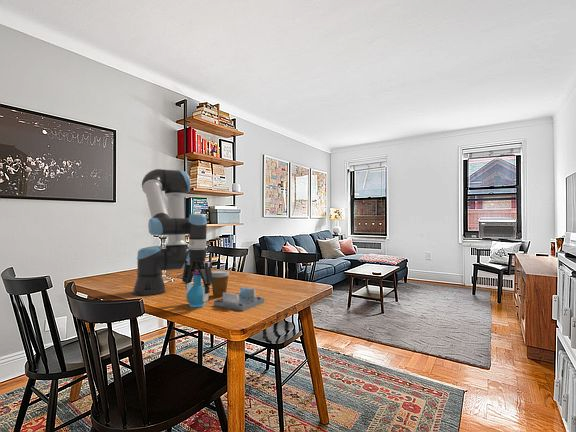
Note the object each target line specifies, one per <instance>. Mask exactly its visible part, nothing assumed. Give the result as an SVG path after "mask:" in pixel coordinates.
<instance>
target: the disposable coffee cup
mask: <svg viewBox="0 0 576 432" xmlns="http://www.w3.org/2000/svg"><path fill="white" fill-rule="evenodd" d="M211 273H212V278H213V284H212V285H211V288H212V296H213V297H214V298H223V292H227V291H228V290H227V289H228V281H229V276H230V272H229V270H226V269H225V270H224V269H223V270H222V269H217V270H211Z"/></svg>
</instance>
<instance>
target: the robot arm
mask: <svg viewBox="0 0 576 432" xmlns="http://www.w3.org/2000/svg"><path fill="white" fill-rule="evenodd" d="M191 186H192V185H191V179H190V176H189V174H188V172H186V171H182V170H179V169H178V170H177V169H176V170H175V169H174V170H173V169H161V168H155V169H153V170H150V171H149V172H147V173H146V174H145V175H144V177H143V179H142V181H141V188H142V191H143V193H144V194H145V195H146V199H147V203H148V204H147V205H148V209H149V212H150V216H151V218H150V219H149V220H148V227H147V228H148V233H149V234H150V235H151V236H167V237H168V238H167V239H168V241H167V242H166V244H165V245H164V247H165V248H163V247H162V246H161V245H153V246H148V247H147V246H146V247H143V248H140V249H138V251H137V257H136V260H137V261H136V262H137V268H136V269H137V271H136V272H137V273H136V275H137V276H136V281H135V284H134V287H133V289H132V290H133V295H137V296H152V295H158V294H162V293H165V292H166V285H165V282H164V280H163V276H162V275H163V271H164V272H165V271H173V270H174V271H175V270H179V271H180V270H183V274H182V279H181V281H182V282H183V283H185V292H186V295H187V293H188V292H189V291H190V289H191V288H192V286H193V281H192V280H193V273H192V272H193V271H198V272H200V275H201V278H202V283H203V285H202V286H203V302H204V301H206V302H207V301H209V293H210V286H212V284H213V278H212V273H211V271H212V268H211V267H212V266H211V265H212V262H211V261H206V257H207V249H206V248H207V225H208V220H207V215H206V214H205V213H203V214H202V213H201V214H199V213H198V214H197V213H193V214H192V213H191V214H189V216H188V217H187V218H186V217H185V198H186V197H187V196H188V193H190V191H191ZM163 192H164V194H163ZM164 196H165V197H166V198H167V205H166V201H165V198H164ZM186 235H188V243H187V242H186ZM186 295H185V296H186ZM186 299H187V296H186ZM204 303H205V302H204Z"/></svg>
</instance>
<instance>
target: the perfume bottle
mask: <svg viewBox="0 0 576 432" xmlns="http://www.w3.org/2000/svg"><path fill="white" fill-rule="evenodd" d="M192 273H193V278H192V280H193V281H192V288H191V289H190V291H189V292H188V293H187V295H185V296H187V298H186V300H187V302H188V303H189V307H191V308H199V307H200V308H201V307H204V306H206V304H205V303H206V302H207V301H204V302H203V286H204V285H202V283H203V281H202V278H201V275H200V272H198V270H196V271H193V272H192Z"/></svg>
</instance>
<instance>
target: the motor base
mask: <svg viewBox="0 0 576 432" xmlns="http://www.w3.org/2000/svg"><path fill="white" fill-rule="evenodd" d="M264 303H265V297H261V296H256V288H251V287H244V286H240V287H239V292H237V293H233V292H227V291H226V292H223V297H221V298H220V299H217V300H214V301H213V306H214V307H219V308H225V309H230V310H234V311H240V312H244V311H247V310H249V309H251V308H255V307H256V306H259V305H261V304H264Z"/></svg>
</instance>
